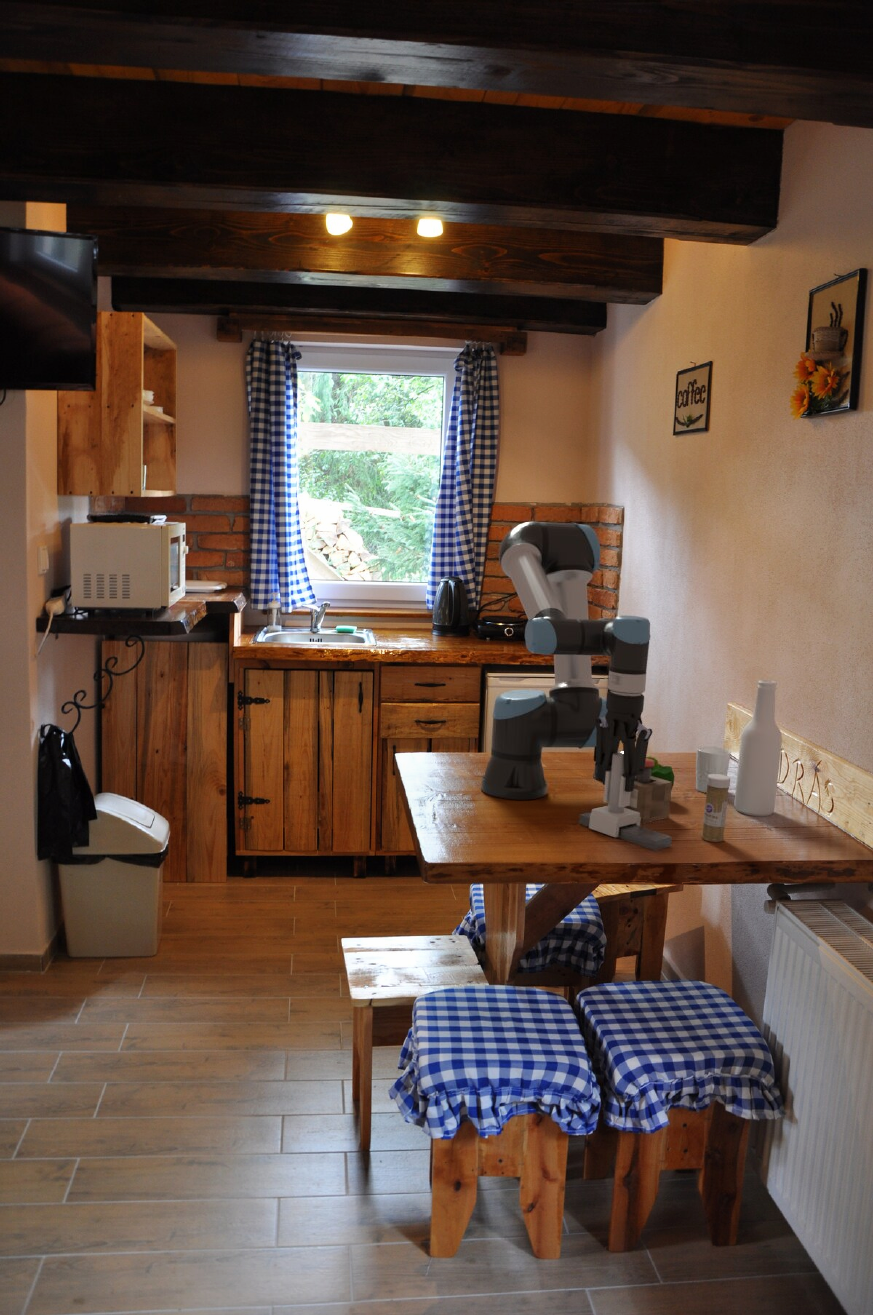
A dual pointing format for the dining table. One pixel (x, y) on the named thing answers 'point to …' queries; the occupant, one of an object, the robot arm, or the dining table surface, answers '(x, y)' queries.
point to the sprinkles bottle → (715, 807)
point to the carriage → (613, 805)
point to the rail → (637, 834)
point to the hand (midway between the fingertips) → (616, 803)
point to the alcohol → (759, 756)
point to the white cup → (710, 764)
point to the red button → (645, 772)
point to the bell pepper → (662, 771)
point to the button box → (651, 799)
